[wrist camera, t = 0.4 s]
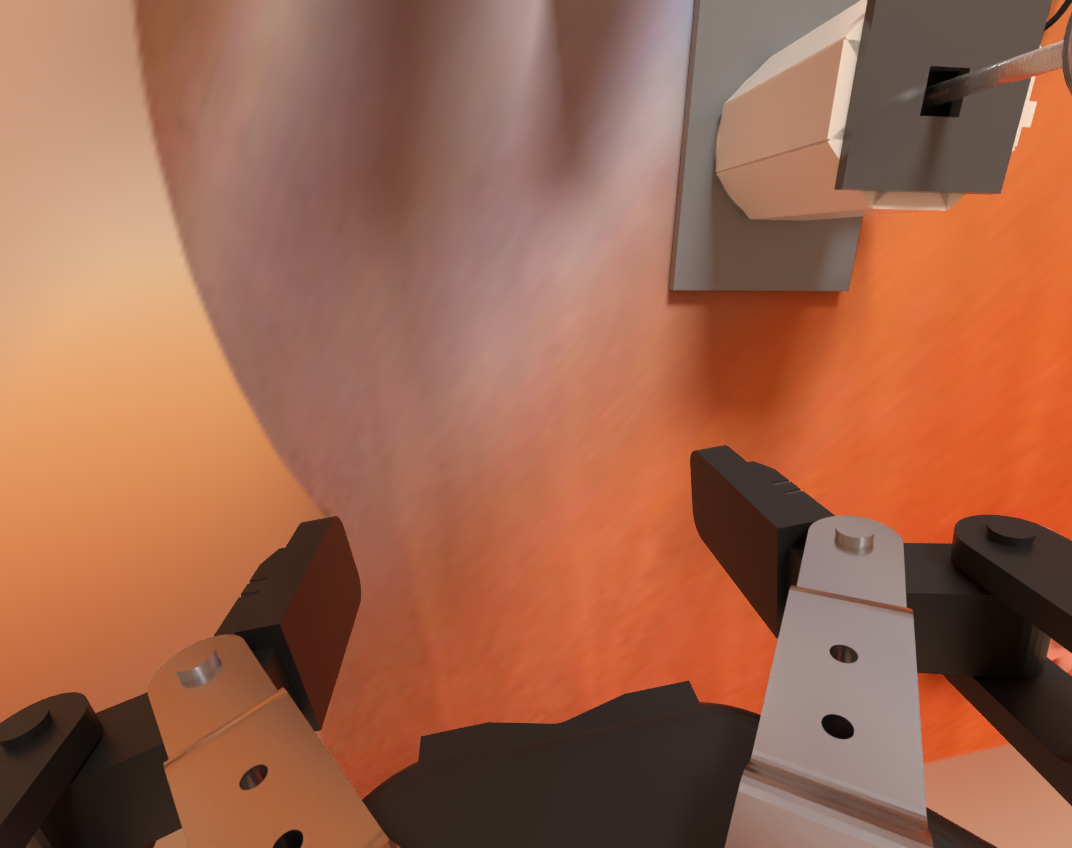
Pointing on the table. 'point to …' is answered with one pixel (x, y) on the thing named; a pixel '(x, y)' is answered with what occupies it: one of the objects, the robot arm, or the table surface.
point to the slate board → (702, 204)
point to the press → (878, 112)
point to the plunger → (996, 75)
